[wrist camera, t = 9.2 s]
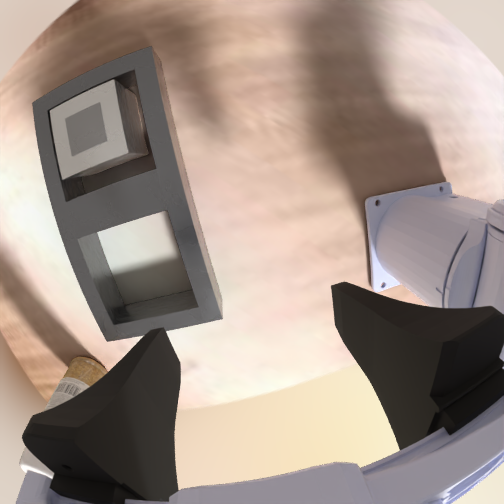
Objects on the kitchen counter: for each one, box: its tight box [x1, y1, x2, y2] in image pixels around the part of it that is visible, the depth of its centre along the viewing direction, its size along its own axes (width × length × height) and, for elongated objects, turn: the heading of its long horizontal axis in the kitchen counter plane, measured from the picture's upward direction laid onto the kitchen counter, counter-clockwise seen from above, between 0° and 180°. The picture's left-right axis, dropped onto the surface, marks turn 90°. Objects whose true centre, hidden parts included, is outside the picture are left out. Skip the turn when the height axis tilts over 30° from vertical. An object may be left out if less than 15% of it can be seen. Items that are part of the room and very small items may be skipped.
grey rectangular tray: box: [32, 46, 223, 342], centre depth 17 cm, size 9×18×3 cm, turn 13°
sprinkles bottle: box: [19, 357, 107, 478], centre depth 16 cm, size 5×5×13 cm
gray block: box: [50, 80, 148, 180], centre depth 15 cm, size 4×4×4 cm
